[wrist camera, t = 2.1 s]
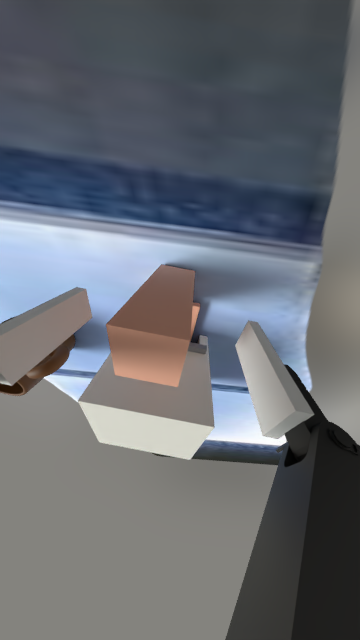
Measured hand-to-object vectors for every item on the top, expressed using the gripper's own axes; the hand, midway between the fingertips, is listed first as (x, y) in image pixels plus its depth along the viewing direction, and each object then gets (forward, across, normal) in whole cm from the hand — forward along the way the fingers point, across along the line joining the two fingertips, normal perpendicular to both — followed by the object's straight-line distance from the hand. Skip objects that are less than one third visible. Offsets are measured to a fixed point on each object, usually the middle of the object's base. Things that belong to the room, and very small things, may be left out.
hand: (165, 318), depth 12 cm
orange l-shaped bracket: (+8, 0, -7) cm, 10 cm away
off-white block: (+8, 0, -12) cm, 15 cm away
